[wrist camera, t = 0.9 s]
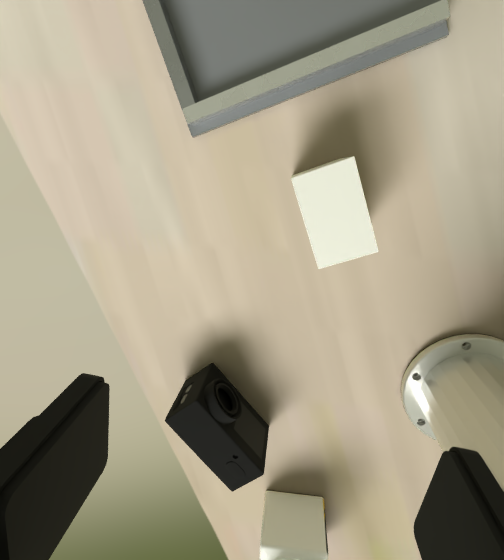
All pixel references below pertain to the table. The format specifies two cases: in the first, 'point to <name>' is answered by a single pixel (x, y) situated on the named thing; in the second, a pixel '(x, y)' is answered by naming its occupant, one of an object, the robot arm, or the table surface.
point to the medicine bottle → (293, 527)
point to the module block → (335, 212)
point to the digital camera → (220, 427)
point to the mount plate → (278, 42)
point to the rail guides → (287, 74)
